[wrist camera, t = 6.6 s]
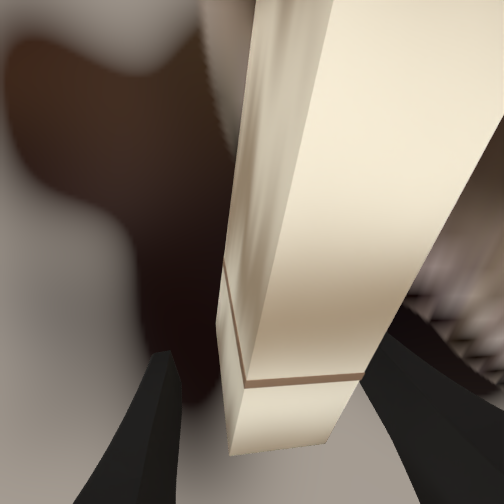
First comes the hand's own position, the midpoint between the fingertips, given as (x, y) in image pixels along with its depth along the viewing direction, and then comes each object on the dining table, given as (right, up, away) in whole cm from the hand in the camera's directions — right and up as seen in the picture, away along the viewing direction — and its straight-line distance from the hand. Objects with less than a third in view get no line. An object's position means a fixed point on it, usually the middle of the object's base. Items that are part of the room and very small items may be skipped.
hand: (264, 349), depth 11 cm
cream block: (0, +6, -1) cm, 6 cm away
